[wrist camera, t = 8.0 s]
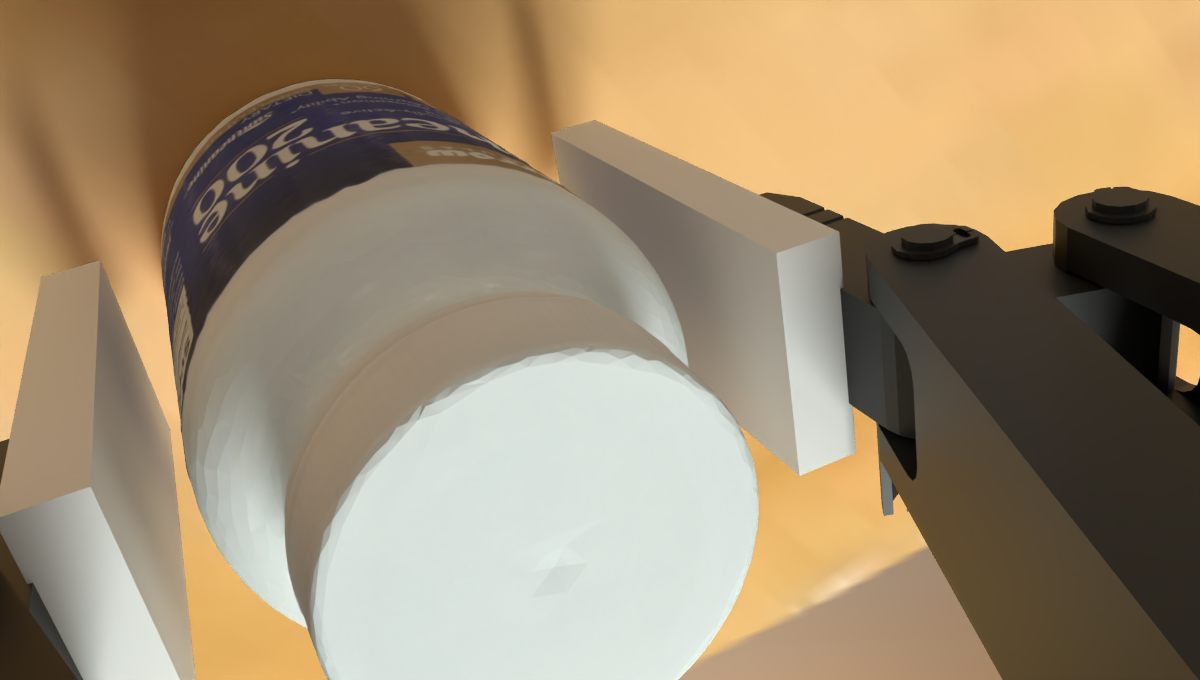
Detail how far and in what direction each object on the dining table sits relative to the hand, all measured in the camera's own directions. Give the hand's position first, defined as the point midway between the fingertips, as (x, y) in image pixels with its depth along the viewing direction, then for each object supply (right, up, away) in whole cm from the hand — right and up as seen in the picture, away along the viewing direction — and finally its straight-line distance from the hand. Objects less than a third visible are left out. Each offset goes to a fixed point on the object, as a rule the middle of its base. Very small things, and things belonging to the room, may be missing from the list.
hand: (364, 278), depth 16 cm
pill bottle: (-1, +1, +1) cm, 2 cm away
